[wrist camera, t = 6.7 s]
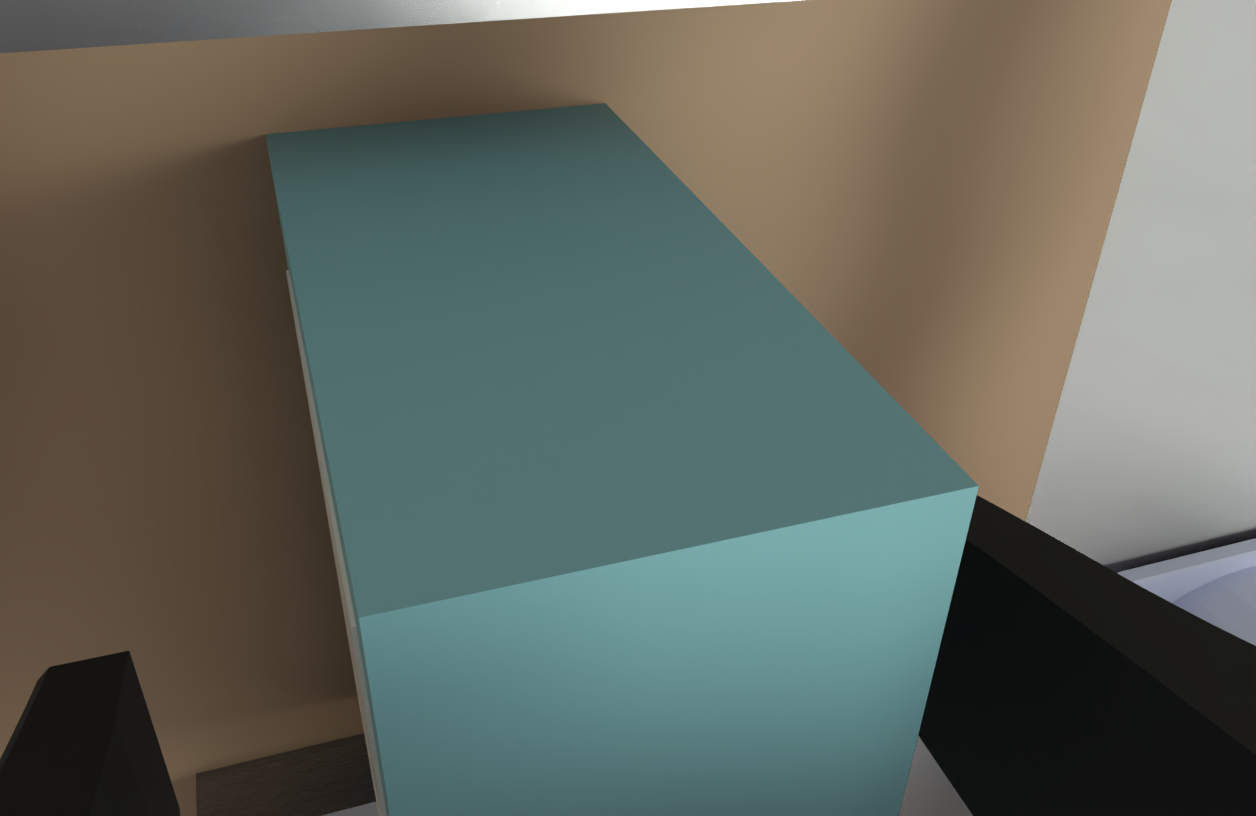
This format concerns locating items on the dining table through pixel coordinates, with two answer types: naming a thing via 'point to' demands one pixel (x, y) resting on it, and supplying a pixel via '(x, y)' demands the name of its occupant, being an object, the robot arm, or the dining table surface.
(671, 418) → the teal block
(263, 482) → the wooden board
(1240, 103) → the dining table surface
